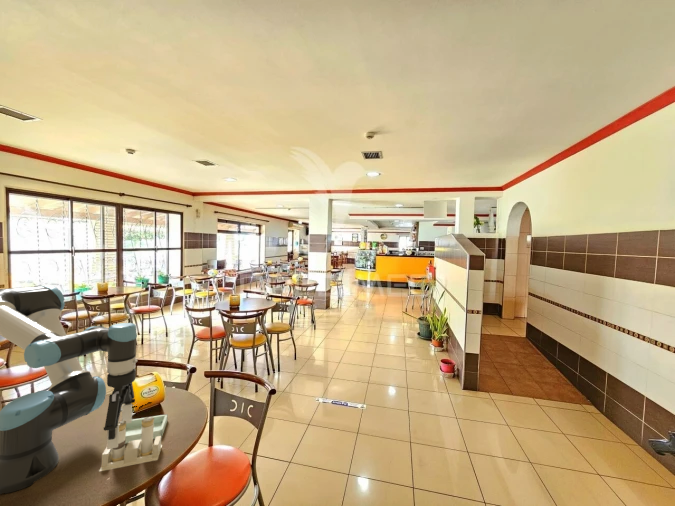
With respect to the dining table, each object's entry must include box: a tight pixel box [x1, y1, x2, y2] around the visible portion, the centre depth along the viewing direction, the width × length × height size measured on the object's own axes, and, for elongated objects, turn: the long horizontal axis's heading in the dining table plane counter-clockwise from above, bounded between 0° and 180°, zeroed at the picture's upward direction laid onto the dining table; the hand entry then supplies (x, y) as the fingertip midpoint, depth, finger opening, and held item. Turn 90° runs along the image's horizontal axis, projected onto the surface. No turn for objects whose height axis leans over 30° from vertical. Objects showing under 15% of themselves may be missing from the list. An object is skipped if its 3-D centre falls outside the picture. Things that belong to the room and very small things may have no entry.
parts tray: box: [125, 413, 169, 445], centre depth 109 cm, size 16×11×4 cm
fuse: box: [140, 416, 154, 457], centre depth 98 cm, size 4×4×12 cm
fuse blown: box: [112, 420, 126, 462], centre depth 95 cm, size 4×4×12 cm
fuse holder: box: [98, 436, 163, 472], centre depth 96 cm, size 16×8×5 cm, turn 111°
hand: (120, 434), depth 95 cm, fingers open, 13 cm apart
